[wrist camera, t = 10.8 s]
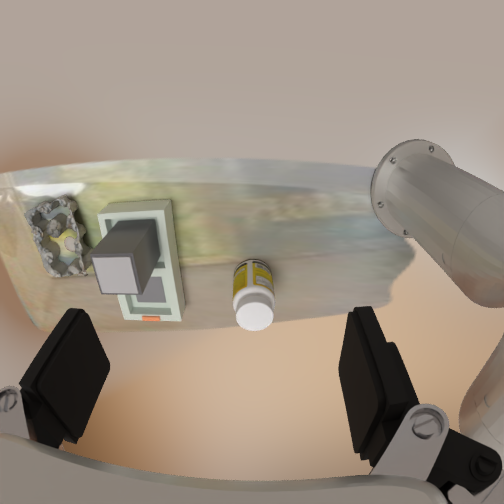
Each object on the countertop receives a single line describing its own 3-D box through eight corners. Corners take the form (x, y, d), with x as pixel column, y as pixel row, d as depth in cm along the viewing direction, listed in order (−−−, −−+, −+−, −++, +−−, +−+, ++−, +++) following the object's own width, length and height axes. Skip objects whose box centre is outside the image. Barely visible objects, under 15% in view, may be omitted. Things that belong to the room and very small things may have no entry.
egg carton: (101, 263, 40) (89, 280, 36) (59, 268, 40) (47, 283, 36) (77, 189, 35) (61, 201, 31) (35, 200, 35) (19, 212, 31)
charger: (118, 220, 34) (89, 255, 27) (154, 219, 34) (132, 254, 27) (125, 255, 36) (100, 295, 29) (160, 255, 36) (141, 296, 29)
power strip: (108, 203, 35) (96, 215, 32) (170, 199, 35) (163, 210, 32) (131, 303, 42) (124, 320, 39) (185, 304, 42) (181, 322, 39)
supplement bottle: (237, 292, 42) (235, 335, 34) (231, 261, 39) (227, 302, 32) (273, 287, 41) (278, 331, 34) (269, 256, 39) (274, 296, 32)
